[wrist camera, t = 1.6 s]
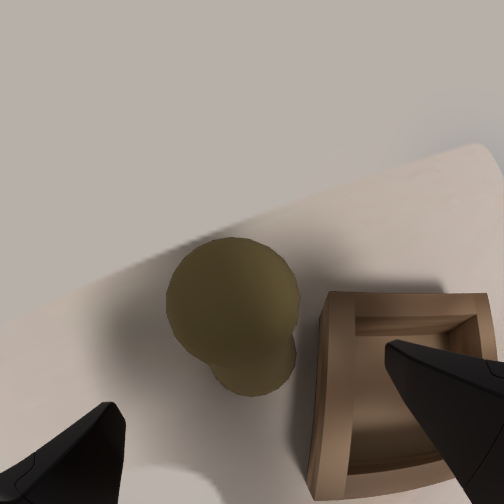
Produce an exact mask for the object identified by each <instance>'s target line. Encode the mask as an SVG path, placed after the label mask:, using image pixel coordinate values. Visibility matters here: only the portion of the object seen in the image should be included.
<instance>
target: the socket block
mask: <svg viewBox="0 0 504 504" xmlns="http://www.w3.org/2000/svg"><path fill="white" fill-rule="evenodd" d="M395 339H399V340H403V341H407V342H411V343H415V344H420V345H424V346H428V347H432V348H437V349H441V350H445V351H450V352H455V353H459V354H464V355H469V356H473V357H478V358H483V359H489V360H494V361H498V360H497V350H496V341H495V334H494V327H493V321H492V315H491V310H490V305H489V300H488V295H487V293H462V294H421V293H367V292H338V291H329V293H328V296H327V299H326V301H325V304H324V307H323V309H322V312H321V315H320V317H319V345H318V365H317V382H316V396H315V408H314V419H313V430H312V439H311V448H310V456H309V464H308V472H307V479H306V484H307V486H308V489H309V491H310V493H311V495H312V498H313V500H314V501H328V500H345V499H356V498H366V497H373V496H380V495H387V494H393V493H398V492H403V491H408V490H412V489H417V488H421V487H425V486H429V485H433V484H436V483H440V482H443V481H446V480H450V479H453V478H456V477H455V476H454V474H453V473H452V471H451V470H450V468H449V467H448V465H447V464H446V462H445V461H444V459H443V458H442V456H441V455H440V454H439V452H438V451H437V449H436V448H435V446H434V445H433V443H432V442H431V440H430V439H429V437H428V436H427V435H426V433H425V432H424V430H423V429H422V427H421V426H420V425H419V423H418V422H417V420H416V419H415V417H414V416H413V415H412V413H411V412H410V410H409V409H408V408H407V406H406V405H405V403H404V401H403V400H402V398H401V396H400V394H399V392H398V391H397V389H396V387H395V385H394V383H393V381H392V380H391V378H390V376H389V374H388V372H387V371H386V368H385V364H384V359H385V345H386V343H387V342H390V341H392V340H395Z"/></svg>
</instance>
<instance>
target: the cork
mask: <svg viewBox="0 0 504 504" xmlns="http://www.w3.org/2000/svg"><path fill="white" fill-rule="evenodd" d="M299 306H300V295H299V290H298V286H297V282H296V279H295V276H294V274H293V273H292V271H291V269H290V268H289V266H288V265H287V263H286V262H285V260H284V259H283V258H282V257H281V256H280V255H278V254H277V253H276V252H275V251H273V250H272V249H271V248H270V247H268V246H265V245H263V244H260V243H258V242H255V241H253V240H250V239H245V238H234V237H229V238H223V239H217V240H213V241H211V242H208V243H206V244H204V245H202V246H199V247H197V248H196V249H195V250H194V251H192V252H191V253H190V254H189V255H187V256H186V257H185V258H184V259H183V260H182V262H181V263H180V265H179V266H178V267H177V269H176V270H175V272H174V273H173V275H172V278H171V281H170V284H169V287H168V290H167V293H166V313H167V316H168V319H169V322H170V325H171V328H172V330H173V333H174V336H175V337H176V338H177V340H178V341H179V342H180V343H181V344H182V346H183V347H184V348H185V349H186V350H187V352H189V353H190V354H192V355H193V356H195V357H197V358H198V359H200V360H202V361H203V362H205V363H207V364H209V365H210V366H211V369H212V371H213V373H214V375H215V377H216V379H217V380H218V381H219V382H220V383H221V384H222V385H223V386H224V387H225V388H227V389H228V390H230V391H232V392H234V393H236V394H239V395H244V396H250V397H253V396H260V395H266V394H268V393H270V392H272V391H274V390H276V389H278V388H279V387H280V386H281V385H282V384H283V383H285V382H286V381H287V380H288V379H289V377H290V375H291V373H292V371H293V369H294V367H295V361H296V354H297V353H296V348H295V343H294V339H293V336H292V332H293V330H294V328H295V326H296V324H297V320H298V314H299Z"/></svg>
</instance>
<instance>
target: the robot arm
mask: <svg viewBox="0 0 504 504" xmlns="http://www.w3.org/2000/svg"><path fill="white" fill-rule="evenodd" d="M384 364H385V368H386V371H387V372H388V374H389V376H390V378H391V380H392V381H393V383H394V385H395V387H396V389H397V391H398V392H399V394H400V396H401V398H402V400H403V401H404V403H405V405H406V406H407V408H408V409H409V410H410V412H411V413H412V415H413V416H414V417H415V419H416V420H417V422H418V423H419V425H420V426H421V427H422V429H423V430H424V432H425V433H426V435H427V436H428V437H429V439H430V440H431V442H432V443H433V445H434V446H435V448H436V449H437V451H438V452H439V454H440V455H441V456H442V458H443V459H444V461H445V462H446V464H447V465H448V467H449V468H450V470H451V471H452V473H453V474H454V476H455V477H456V479H457V481H458V482H459V484H460V485H461V487H462V488H463V490H464V492H465V493H466V495H467V496H468V498H469V500H470V501H471V503H472V504H504V362H499V361H494V360H489V359H483V358H478V357H473V356H469V355H464V354H459V353H455V352H450V351H445V350H441V349H437V348H432V347H428V346H424V345H420V344H415V343H411V342H407V341H403V340H399V339H395V340H392V341H390V342H387V343H386V345H385V359H384ZM125 432H126V422H125V419H124V417H123V415H122V414H121V412H120V411H119V409H118V407H117V406H116V404H115V403H114V402H102V403H101V404H99V405H98V406H97V407H95V408H94V409H93V410H91V411H90V412H89V413H87V414H86V415H85V416H83V417H82V418H81V419H79V420H78V421H77V422H75V423H74V424H73V425H71V426H70V427H69V428H67V429H66V430H64V431H63V432H62V433H60V434H59V435H58V436H56V437H55V438H53V439H52V440H51V441H49V442H48V443H46V444H45V445H44V446H42V447H41V448H39V449H38V450H37V451H36V452H34V453H32V454H31V455H30V456H28V457H27V458H25V459H24V460H22V461H21V462H19V463H17V464H16V465H14V466H12V467H11V468H9V469H7V470H5V471H4V472H2V473H0V504H118V496H119V488H120V482H121V475H122V469H123V462H124V448H125Z"/></svg>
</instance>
